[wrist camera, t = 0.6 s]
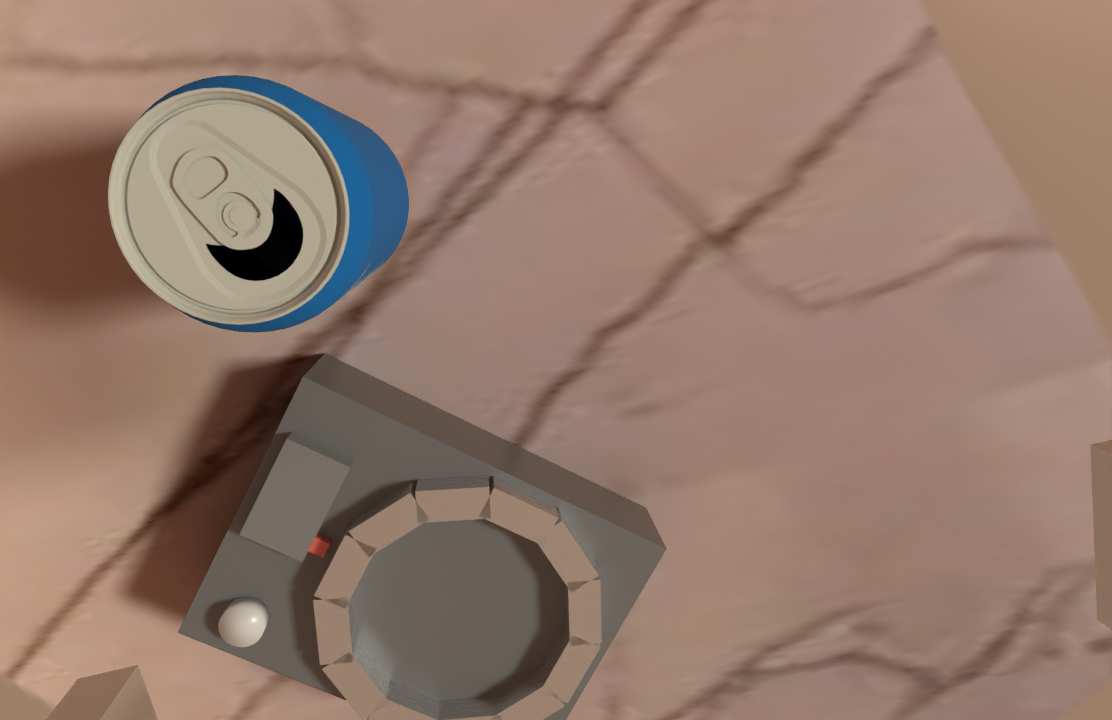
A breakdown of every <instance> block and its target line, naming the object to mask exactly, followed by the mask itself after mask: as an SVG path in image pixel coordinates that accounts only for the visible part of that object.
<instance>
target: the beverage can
mask: <svg viewBox="0 0 1112 720" xmlns="http://www.w3.org/2000/svg"><path fill="white" fill-rule="evenodd" d="M108 210H109V215H110V221H111V226H112V229H113V232H114V235H115V238H116V241H117V243H118V245H119V247H120V249H121V252H122V254H123V256H124V257H125V259H126V260H127V262H128V264H129V265H130V267H131V268H132V270H133V271H134V272H135V273H136V275H137V276H138V277H139V278H140V279H141V281H142V282H143V283H144V284H145V285H146V286H147V287H148V288H149V289H151V290H152V291H153V292H154V293H155V294H156V295H158V296H159V297H160V298H162V299H163V300H164V301H165V302H167V303H169V304H170V305H172V306H173V307H174V308H176V309H177V310H179V311H181V312H183V313H184V314H186V315H188V316H189V317H191V318H194V319H196V320H198V321H201V322H203V323H205V324H208V325H212V326H215V327H218V328H222V329H227V330H233V331H239V332H267V331H275V330H280V329H285V328H289V327H292V326H294V325H297V324H300V323H303V322H305V321H307V320H309V319H311V318H313V317H315V316H317V315H318V314H320V313H321V312H323V311H324V310H326V309H327V308H329V307H330V306H331V305H333V304H334V303H335V302H336V301H338V300H339V299H340V298H341V297H343V296H344V295H345V294H346V293H348V292H349V291H350V290H352V289H353V288H354V287H355V286H357V285H358V284H359V283H360V282H362V281H363V280H364V279H365V278H367V277H368V276H369V275H370V274H372V273H373V272H374V271H376V270H377V269H378V268H379V267H380V266H381V265H382V264H384V263H385V262H386V261H387V259H388V258H389V257H390V256H391V255H392V254H393V252H394V251H395V249H396V247H397V246H398V244H399V242H400V240H401V238H402V236H403V233H404V230H405V227H406V223H407V218H408V210H409V198H408V189H407V184H406V180H405V177H404V174H403V171H402V168H401V166H400V164H399V162H398V160H397V158H396V157H395V155H394V154H393V152H392V151H391V149H390V148H389V147H388V145H387V144H386V143H385V142H384V141H383V140H382V139H381V138H380V137H379V136H378V135H377V134H376V133H375V132H373V131H372V130H371V129H369V128H368V127H367V126H365V125H364V124H362V123H360V122H358V121H356V120H354V119H352V118H350V117H348V116H346V115H344V114H342V113H340V112H338V111H336V110H334V109H332V108H330V107H328V106H326V105H324V104H322V103H320V102H318V101H316V100H314V99H312V98H310V97H308V96H306V95H304V94H302V93H300V92H298V91H296V90H294V89H292V88H289V87H287V86H285V85H282V84H279V83H276V82H273V81H271V80H266V79H261V78H257V77H250V76H238V75H232V76H217V77H211V78H206V79H201V80H198V81H195V82H192V83H189V84H186V85H184V86H182V87H180V88H178V89H176V90H174V91H172V92H170V93H168V94H167V95H165V96H164V97H162V98H161V99H160V100H158V101H157V102H155V103H154V104H153V105H152V106H151V107H150V108H149V109H148V110H147V111H146V112H145V113H144V114H143V115H142V116H141V117H140V118H139V120H138V121H137V122H135V124H134V125H133V126H132V127H131V129H130V130H129V131H128V133H127V134H126V135H125V137H124V139H123V141H122V142H121V144H120V146H119V148H118V150H117V152H116V155H115V158H114V160H113V163H112V167H111V171H110V176H109V183H108Z"/></svg>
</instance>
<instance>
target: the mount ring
mask: <svg viewBox="0 0 1112 720" xmlns="http://www.w3.org/2000/svg"><path fill="white" fill-rule="evenodd" d="M474 519H486V520H488V521H490V522H492V523H495V524H497V525H499V526H501V527H503V528H505V529H508V530H510V531H512V532H514V533H516V534H519V535H521V536H523V537H525V538H527V539H529V540H532V541H534V542H536V543H538V545H539V546H540V548H541V549H542V551H543V552H544V554H545V555H546V556H547V558H548V559H549V561H550V562H551V564H552V565H553V567H554V568H555V569H556V571H557V572H558V574H559V575H560V577H561V578H562V580H563V581H564V583H565V589H566V621H567V623H566V625H565V627H564V628H563V630H562V632H561V634H560V635H559V637H558V639H557V641H556V642H555V644H554V646H553V648H552V649H551V651H550V653H549V655H548V656H547V658H546V660H545V661H544V663H543V665H542V667H541V668H540V669H538V670H537V671H535V672H533V673H532V674H530V675H528V676H527V677H525V678H523V679H522V680H520V681H518V682H517V683H515V684H514V685H512V686H510V687H509V688H507V689H505V690H504V691H502V692H500V693H499V694H497V695H495V696H488V697H476V698H463V699H451V700H438V699H435V698H433V697H430V696H428V695H426V694H423V693H421V692H418V691H416V690H413V689H411V688H409V687H406V686H404V685H401V684H399V683H396V682H394V681H392V680H390V679H389V678H388V677H387V675H386V674H385V673H384V672H383V670H382V669H381V668H380V667H379V665H378V664H377V663H376V661H375V660H374V659H373V658H372V656H371V655H370V654H369V652H368V651H367V650H366V649H365V647H364V646H363V645H362V644H361V642H360V641H359V640H358V636H357V625H356V615H355V604H354V593H353V592H354V590H355V589H356V587H357V585H358V583H359V581H360V579H361V577H362V575H363V573H364V571H365V569H366V568H367V566H368V564H369V562H370V560H371V558H372V556H373V554H374V553H376V552H378V551H379V550H381V549H383V548H384V547H386V546H387V545H389V544H391V543H392V542H394V541H395V540H397V539H399V538H400V537H402V536H403V535H405V534H407V533H408V532H410V531H411V530H413V529H415V528H416V527H418V526H420V525H421V524H423V523H427V522H443V521H458V520H474ZM314 596H315V597H314V599H313V604H314V613H315V623H316V632H317V642H318V651H319V660H320V665H323V667H322V670H323V671H324V673H325V674H326V675H327V676H328V678H329V679H330V680H331V681H332V682H333V684H334V685H335V686H336V687H337V689H338V690H339V691H340V692H341V694H342V695H343V696H344V697H345V699H346V700H347V701H348V702H349V704H350V705H351V706H352V707H353V709H354V710H355V711H356V712H357V713H358V715H359V716H360V717H361V718H362V720H364V719H365V718H367V717H368V719H367V720H543V719H545V718H546V717H548V716H550V715H551V714H553V713H554V712H556V711H558V710H559V709H561V708H563V707H564V702H566V703H568V702H569V700H570V699H571V697H572V695H573V694H574V692H575V690H576V688H577V687H578V685H579V683H580V682H581V680H582V678H583V676H584V675H585V673H586V671H587V670H588V668H589V666H590V665H591V663H592V661H593V659H594V658H595V656H596V654H597V653H598V651H599V649H600V643H602V636H601V589H600V577H599V574H598V570H597V567H596V564H595V561H594V559H593V558H592V556H591V555H590V553H589V552H588V550H587V549H586V547H585V546H584V544H583V543H582V541H581V540H580V538H579V537H578V535H577V534H576V532H575V531H574V529H573V528H572V526H571V525H570V523H569V522H568V520H567V519H566V517H565V516H564V514H563V513H562V512H561V510H560V509H559V508H558V509H556V505H555V504H553V503H550V502H548V501H546V500H544V499H542V498H540V497H538V496H536V495H533V494H531V493H529V492H527V491H525V490H523V489H521V488H519V487H516V486H514V485H512V484H510V483H508V482H506V481H504V480H502V479H499V478H497V477H495V476H493V478H492V480H491V482H490V484H489V475H480V476H463V477H446V478H430V479H418V481H417V485H416V484H415V482H414V481H412V482H410V483H409V484H407V485H406V486H404V487H402V488H401V489H399V490H398V491H396V492H394V493H393V494H391V495H390V496H388V497H386V498H385V499H383V500H382V501H380V502H378V503H377V504H375V505H374V506H372V507H370V508H369V509H367V510H366V511H364V512H362V513H361V514H359V515H358V516H356V517H354V519H353V522H352V521H351V522H350V524H349V526H348V528H347V529H346V531H345V533H344V535H343V537H342V539H341V541H340V543H339V545H338V547H337V549H336V551H335V553H334V555H333V557H332V559H331V561H330V562H329V564H328V566H327V568H326V570H325V572H324V574H323V576H322V578H321V580H320V582H319V585H318V587H317V590H316V592H315V594H314Z"/></svg>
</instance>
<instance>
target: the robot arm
mask: <svg viewBox="0 0 1112 720" xmlns="http://www.w3.org/2000/svg"><path fill="white" fill-rule="evenodd" d="M1091 470H1092V496H1093V522H1094V548H1095V574H1096V600H1097V620H1099V621H1100V622H1102V623H1103V624H1104V625H1106V626H1107V627H1109V628H1110V629H1111V630H1112V440H1110V441H1105V442H1101V443H1097V444H1092V445H1091ZM46 720H158V719H157V716H156V714H155V711H154V708H153V705H152V703H151V700H150V697H149V694H148V692H147V689H146V686H145V684H144V681H143V678H142V675H141V673H140V670H139V667H138V665H136V666H132V667H127V668H123V669H119V670H114V671H110V672H106V673H101V674H97V675H93V676H88V677H84V678H80V679H78V680H77V681H76V682H75V684H74V685H73V686H72V687H71V689H70V690H69V691H68V692H67V694H66V695H65V696H64V698H63V699H62V700H61V701H60V703H59V704H58V705H57V706H56V708H55V709H54V710H53V712H52V713H51V714H50V715H49V717H48V718H47V719H46Z"/></svg>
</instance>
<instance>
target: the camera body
mask: <svg viewBox="0 0 1112 720" xmlns="http://www.w3.org/2000/svg"><path fill="white" fill-rule="evenodd" d="M480 475H489V484H490V482H491V480H492V478H493V476H495V477H497V478H499V479H502V480H504V481H506V482H508V483H510V484H512V485H514V486H516V487H519V488H521V489H523V490H525V491H527V492H529V493H531V494H533V495H536V496H538V497H540V498H542V499H544V500H546V501H548V502H550V503H553V504H555V505H556V509H558V508H559V509H560V510H561V512H562V513H563V514H564V516H565V517H566V519H567V520H568V522H569V523H570V525H571V526H572V528H573V529H574V531H575V532H576V534H577V535H578V537H579V538H580V540H581V541H582V543H583V544H584V546H585V547H586V549H587V550H588V552H589V553H590V555H591V556H592V558H593V559H594V561H595V564H596V567H597V570H598V574H599V577H600V589H601V636H602V643H600V649H599V651H598V653H597V654H596V656H595V658H594V659H593V661H592V663H591V665H590V666H589V668H588V670H587V671H586V673H585V675H584V676H583V678H582V680H581V682H580V683H579V685H578V687H577V688H576V690H575V692H574V694H573V695H572V697H571V699H570V700H569V702H568V703H566V702H564V707H563V708H561V709H559V710H558V711H556V712H554V713H553V714H551V715H550V716H548V717H546V718H545V719H543V720H566V719H567V717H568V715H569V714H570V712H571V710H572V708H573V707H574V705H575V703H576V702H577V700H578V698H579V697H580V695H581V693H582V691H583V690H584V688H585V686H586V685H587V683H588V681H589V680H590V678H591V676H592V674H593V673H594V671H595V669H596V668H597V666H598V664H599V663H600V661H601V659H602V658H603V656H604V654H605V652H606V651H607V649H608V647H609V646H610V644H611V642H612V641H613V639H614V637H615V635H616V634H617V632H618V630H619V629H620V627H621V625H622V624H623V622H624V620H625V618H626V617H627V615H628V613H629V612H630V610H631V608H632V607H633V605H634V603H635V601H636V600H637V598H638V596H639V595H640V593H641V591H642V590H643V588H644V586H645V584H646V583H647V581H648V579H649V578H650V576H651V574H652V573H653V571H654V569H655V567H656V566H657V564H658V562H659V561H660V559H661V557H662V556H663V554H664V552H665V550H666V547H665V545H664V543H663V541H662V539H661V537H660V535H659V533H658V531H657V529H656V527H655V525H654V523H653V521H652V519H651V517H650V515H649V513H648V511H647V509H646V508H645V507H643V506H641V505H639V504H637V503H635V502H632V501H630V500H628V499H626V498H624V497H622V496H620V495H618V494H616V493H614V492H612V491H610V490H608V489H605V488H603V487H601V486H599V485H597V484H595V483H593V482H591V481H589V480H587V479H585V478H583V477H580V476H578V475H576V474H574V473H572V472H570V471H568V470H566V469H564V468H562V467H560V466H558V465H556V464H553V463H551V462H549V461H547V460H545V459H543V458H541V457H539V456H537V455H535V454H533V453H531V452H529V451H526V450H524V449H522V448H520V447H518V446H516V445H514V444H512V443H510V442H508V441H506V440H504V439H502V438H499V437H497V436H495V435H493V434H491V433H489V432H487V431H485V430H483V429H481V428H479V427H477V426H475V425H472V424H470V423H468V422H466V421H464V420H462V419H460V418H458V417H456V416H454V415H452V414H450V413H447V412H445V411H443V410H441V409H439V408H437V407H435V406H433V405H431V404H429V403H427V402H425V401H423V400H420V399H418V398H416V397H414V396H412V395H410V394H408V393H406V392H404V391H402V390H400V389H398V388H396V387H393V386H391V385H389V384H387V383H385V382H383V381H381V380H379V379H377V378H375V377H373V376H371V375H369V374H366V373H364V372H362V371H360V370H358V369H356V368H354V367H352V366H350V365H348V364H346V363H344V362H342V361H339V360H337V359H335V358H333V357H331V356H329V355H327V354H324V355H323V356H322V357H321V358H320V359H319V360H318V361H317V362H316V363H315V364H314V365H313V367H312V368H311V369H310V370H309V371H308V372H307V373H306V374H305V375H304V376H303V377H302V380H301V382H300V384H299V386H298V388H297V390H296V392H295V394H294V396H293V398H292V400H291V402H290V404H289V406H288V408H287V410H286V412H285V414H284V416H283V418H282V420H281V422H280V424H279V427H278V429H277V431H276V433H275V435H274V437H273V439H272V441H271V443H270V445H269V447H268V449H267V451H266V453H265V455H264V457H263V459H262V461H261V463H260V465H259V467H258V469H257V471H256V474H255V476H254V478H253V480H252V482H251V484H250V486H249V488H248V490H247V492H246V494H245V496H244V498H243V500H242V502H241V504H240V506H239V508H238V510H237V512H236V514H235V516H234V519H233V521H232V523H231V525H230V527H229V529H228V531H227V533H226V535H225V537H224V539H223V541H222V543H221V545H220V547H219V549H218V551H217V553H216V555H215V557H214V559H213V561H212V563H211V566H210V568H209V570H208V572H207V574H206V576H205V578H204V580H203V582H202V584H201V586H200V588H199V590H198V592H197V594H196V596H195V598H194V600H193V602H192V604H191V606H190V608H189V610H188V613H187V615H186V617H185V619H184V621H183V623H182V625H181V627H180V629H179V631H178V633H180V634H182V635H185V636H187V637H190V638H192V639H195V640H197V641H200V642H202V643H205V644H207V645H210V646H212V647H215V648H217V649H220V650H222V651H225V652H227V653H230V654H232V655H235V656H237V657H240V658H242V659H245V660H247V661H250V662H252V663H255V664H257V665H260V666H262V667H265V668H267V669H270V670H272V671H275V672H277V673H280V674H282V675H285V676H287V677H290V678H292V679H295V680H297V681H299V682H302V683H304V684H307V685H309V686H312V687H314V688H317V689H319V690H322V691H324V692H327V693H329V694H332V695H334V696H337V697H339V698H342V699H344V700H346V699H345V697H344V696H343V695H342V694H341V692H340V691H339V690H338V689H337V687H336V686H335V685H334V684H333V682H332V681H331V680H330V679H329V678H328V676H327V675H326V674H325V673H324V671H323V670H322V667H323V665H320V660H319V651H318V642H317V632H316V623H315V613H314V604H313V599H314V597H315V596H314V594H315V592H316V590H317V587H318V585H319V582H320V580H321V578H322V576H323V574H324V572H325V570H326V568H327V566H328V564H329V562H330V561H331V559H332V557H333V555H334V553H335V551H336V549H337V547H338V545H339V543H340V541H341V539H342V537H343V535H344V533H345V531H346V529H347V528H348V526H349V524H350V522H351V521H352V522H353V519H354V517H356V516H358V515H359V514H361V513H362V512H364V511H366V510H367V509H369V508H370V507H372V506H374V505H375V504H377V503H378V502H380V501H382V500H383V499H385V498H386V497H388V496H390V495H391V494H393V493H394V492H396V491H398V490H399V489H401V488H402V487H404V486H406V485H407V484H409V483H410V482H412V481H414V482H415V484H416V485H417V481H418V479H430V478H446V477H463V476H480ZM353 593H354V604H355V615H356V625H357V636H358V640H359V641H360V642H361V644H362V645H363V646H364V647H365V649H366V650H367V651H368V652H369V654H370V655H371V656H372V658H373V659H374V660H375V661H376V663H377V664H378V665H379V667H380V668H381V669H382V670H383V672H384V673H385V674H386V675H387V677H388V678H389V679H390V680H392V681H394V682H396V683H399V684H401V685H404V686H406V687H409V688H411V689H413V690H416V691H418V692H421V693H423V694H426V695H428V696H430V697H433V698H435V699H438V700H451V699H463V698H476V697H488V696H495V695H497V694H499V693H500V692H502V691H504V690H505V689H507V688H509V687H510V686H512V685H514V684H515V683H517V682H518V681H520V680H522V679H523V678H525V677H527V676H528V675H530V674H532V673H533V672H535V671H537V670H538V669H540V668H541V667H542V665H543V663H544V661H545V660H546V658H547V656H548V655H549V653H550V651H551V649H552V648H553V646H554V644H555V642H556V641H557V639H558V637H559V635H560V634H561V632H562V630H563V628H564V627H565V625H566V623H567V621H566V589H565V583H564V581H563V580H562V578H561V577H560V575H559V574H558V572H557V571H556V569H555V568H554V567H553V565H552V564H551V562H550V561H549V559H548V558H547V556H546V555H545V554H544V552H543V551H542V549H541V548H540V546H539V545H538V543H536V542H534V541H532V540H529V539H527V538H525V537H523V536H521V535H519V534H516V533H514V532H512V531H510V530H508V529H505V528H503V527H501V526H499V525H497V524H495V523H492V522H490V521H488V520H486V519H474V520H458V521H443V522H427V523H423V524H421V525H420V526H418V527H416V528H415V529H413V530H411V531H410V532H408V533H407V534H405V535H403V536H402V537H400V538H399V539H397V540H395V541H394V542H392V543H391V544H389V545H387V546H386V547H384V548H383V549H381V550H379V551H378V552H376V553H374V554H373V556H372V558H371V560H370V562H369V564H368V566H367V568H366V569H365V571H364V573H363V575H362V577H361V579H360V581H359V583H358V585H357V587H356V589H355V590H354V592H353Z"/></svg>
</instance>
